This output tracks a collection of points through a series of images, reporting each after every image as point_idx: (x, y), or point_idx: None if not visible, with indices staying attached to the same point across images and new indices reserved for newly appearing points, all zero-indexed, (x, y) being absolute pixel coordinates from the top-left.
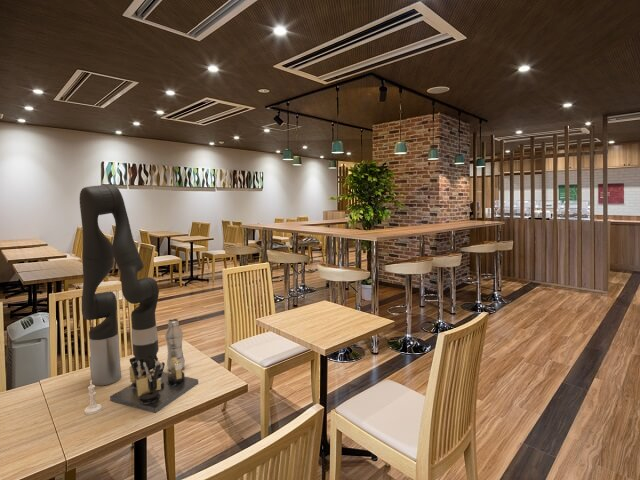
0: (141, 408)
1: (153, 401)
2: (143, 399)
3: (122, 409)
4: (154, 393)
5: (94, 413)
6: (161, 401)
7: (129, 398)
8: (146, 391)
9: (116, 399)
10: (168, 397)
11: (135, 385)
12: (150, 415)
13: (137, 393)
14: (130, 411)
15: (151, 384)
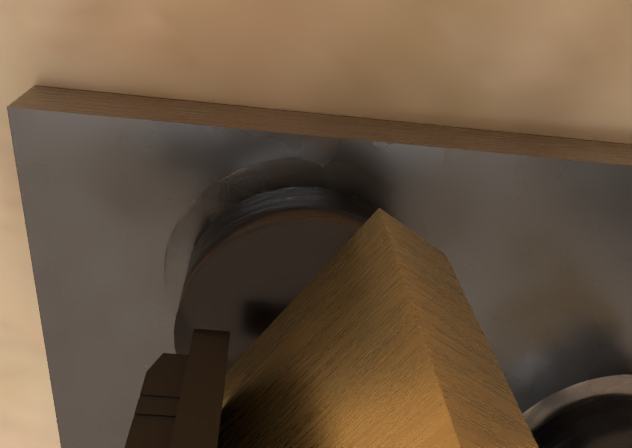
0: (292, 114)
1: (187, 236)
2: (296, 203)
3: (542, 37)
4: (180, 325)
5: None
6: (82, 260)
7: (560, 212)
8: (298, 318)
9: None
10: (79, 344)
11: (629, 412)
12: (44, 12)
13: (417, 245)
14: (400, 24)
15: (173, 440)
